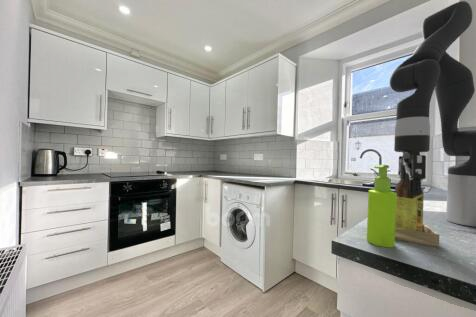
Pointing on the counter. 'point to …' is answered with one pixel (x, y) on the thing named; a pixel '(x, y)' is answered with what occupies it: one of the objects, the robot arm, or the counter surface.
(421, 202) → the sauce bottle
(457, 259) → the counter surface
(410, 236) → the wooden stand
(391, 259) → the counter surface
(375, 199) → the soap dispenser
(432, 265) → the counter surface
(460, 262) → the counter surface
